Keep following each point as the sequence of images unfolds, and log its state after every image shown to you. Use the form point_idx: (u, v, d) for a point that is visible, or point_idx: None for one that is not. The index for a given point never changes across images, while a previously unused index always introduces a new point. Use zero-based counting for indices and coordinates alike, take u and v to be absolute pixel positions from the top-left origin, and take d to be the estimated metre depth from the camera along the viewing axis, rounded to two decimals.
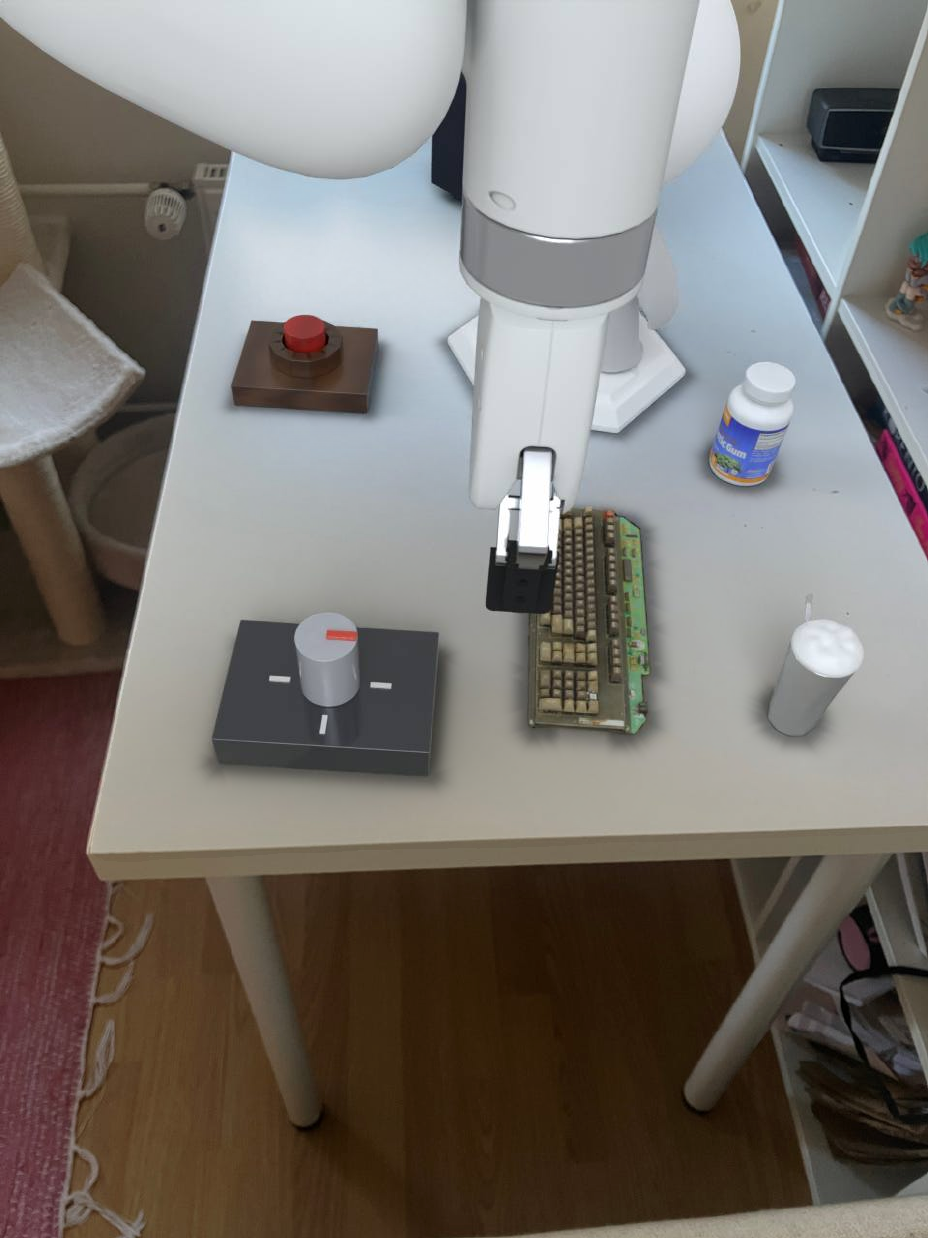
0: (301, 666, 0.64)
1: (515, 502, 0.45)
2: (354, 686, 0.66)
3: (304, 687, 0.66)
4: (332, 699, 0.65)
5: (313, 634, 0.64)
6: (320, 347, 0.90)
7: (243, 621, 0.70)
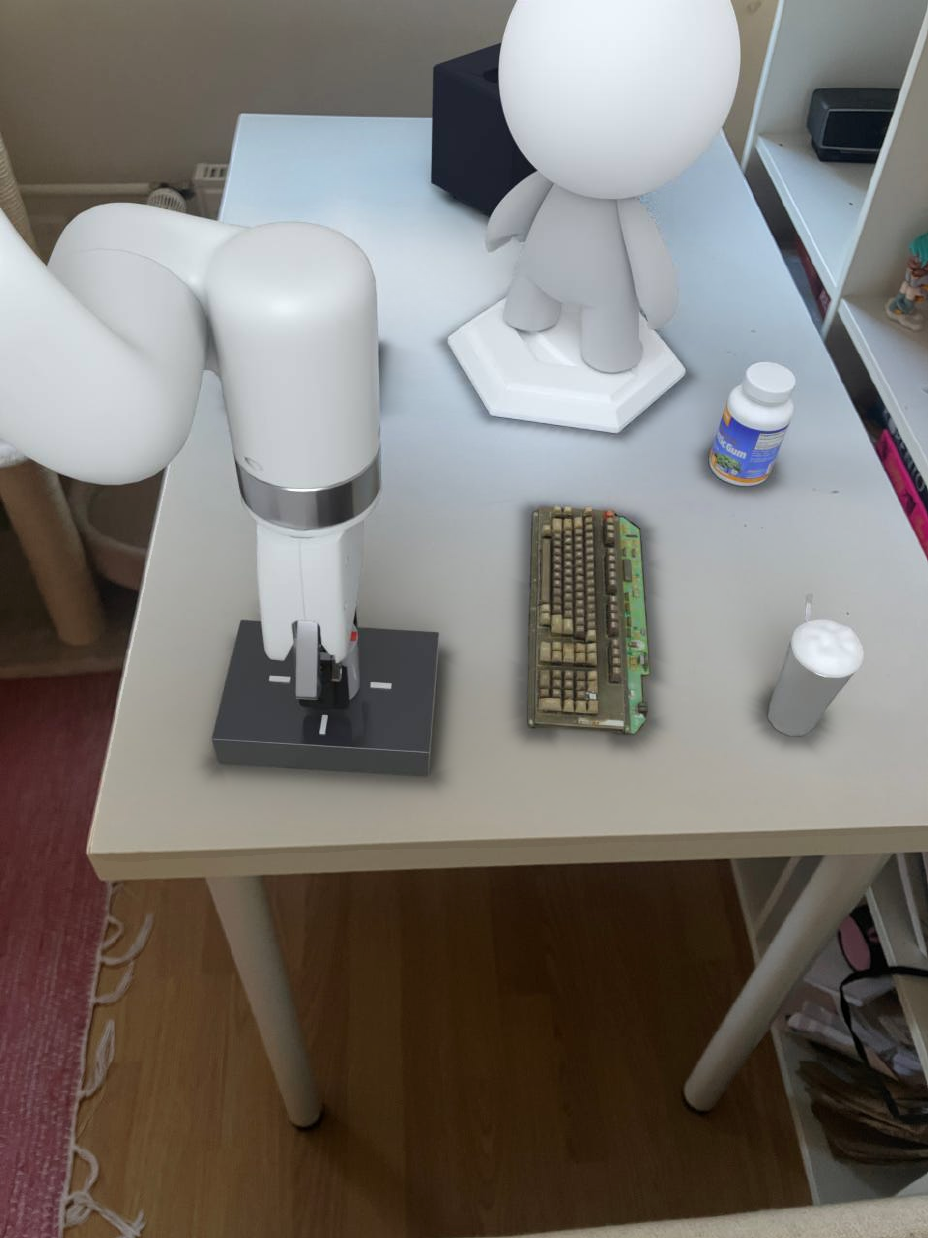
0: None
1: None
2: (354, 686, 0.66)
3: None
4: None
5: None
6: None
7: (243, 621, 0.70)
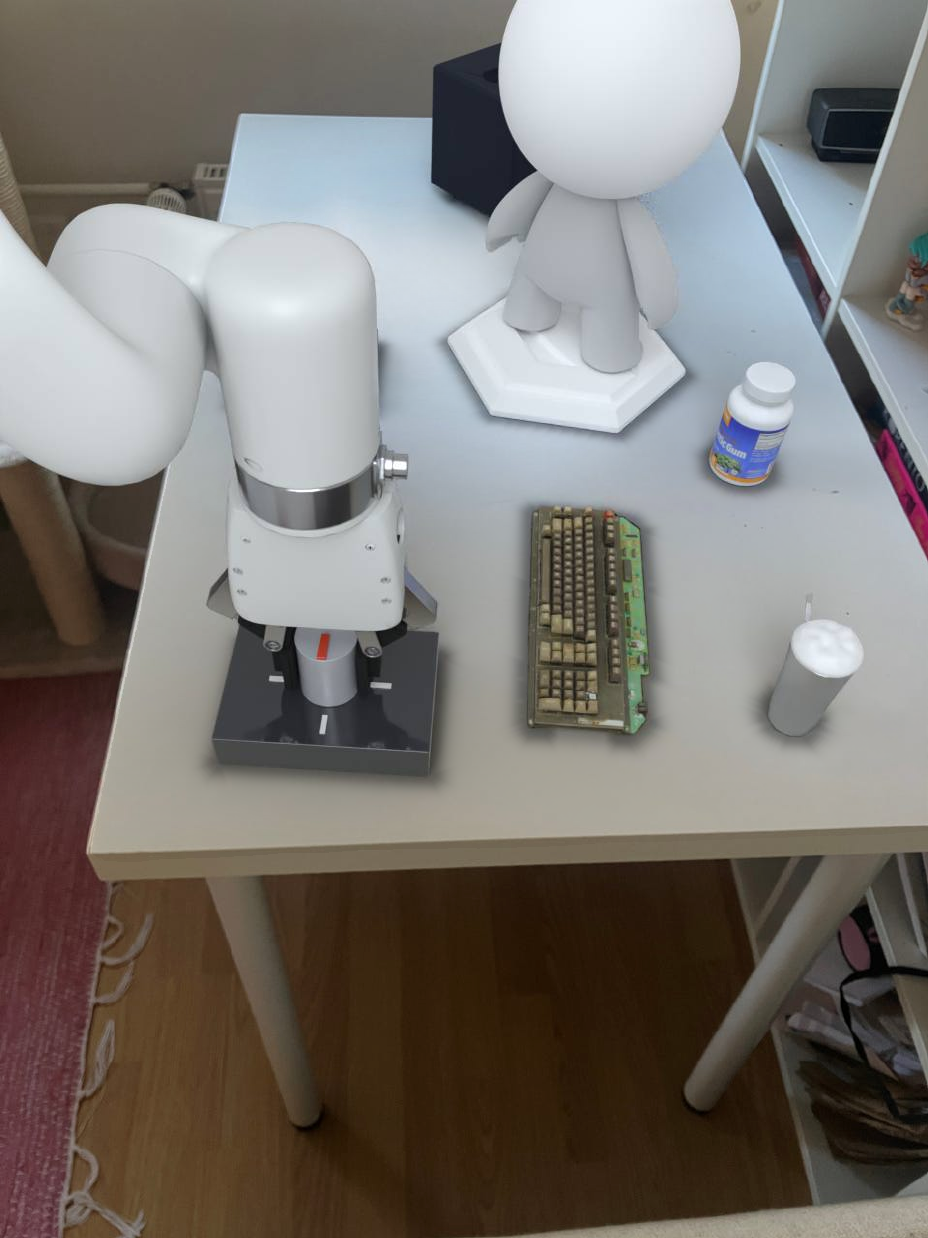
0: None
1: None
2: (311, 693, 0.65)
3: None
4: (299, 678, 0.66)
5: None
6: None
7: None
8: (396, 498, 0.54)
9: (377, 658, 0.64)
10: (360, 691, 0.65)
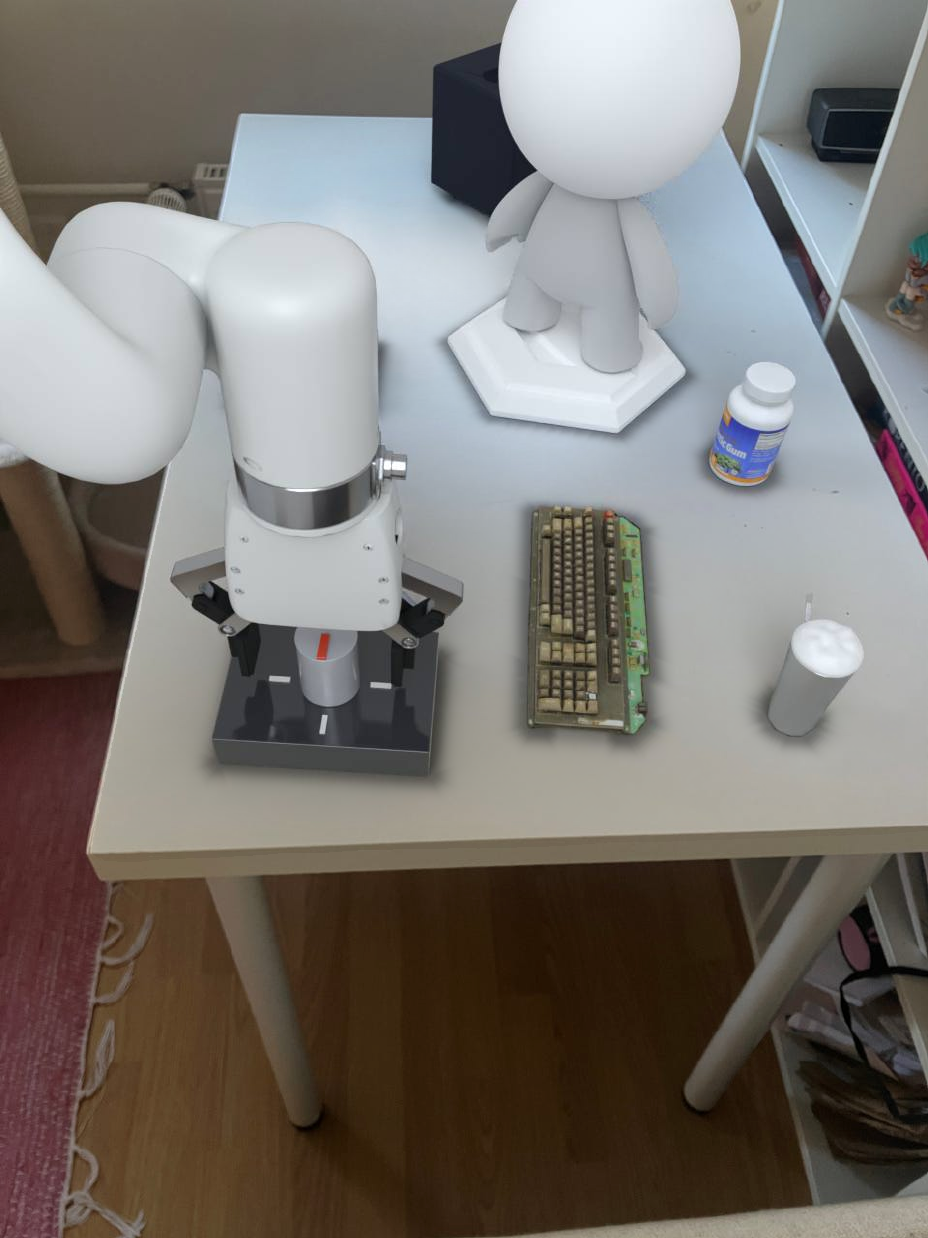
0: None
1: None
2: (311, 693, 0.65)
3: None
4: (299, 678, 0.66)
5: None
6: None
7: None
8: (395, 498, 0.54)
9: (412, 649, 0.63)
10: (394, 683, 0.64)
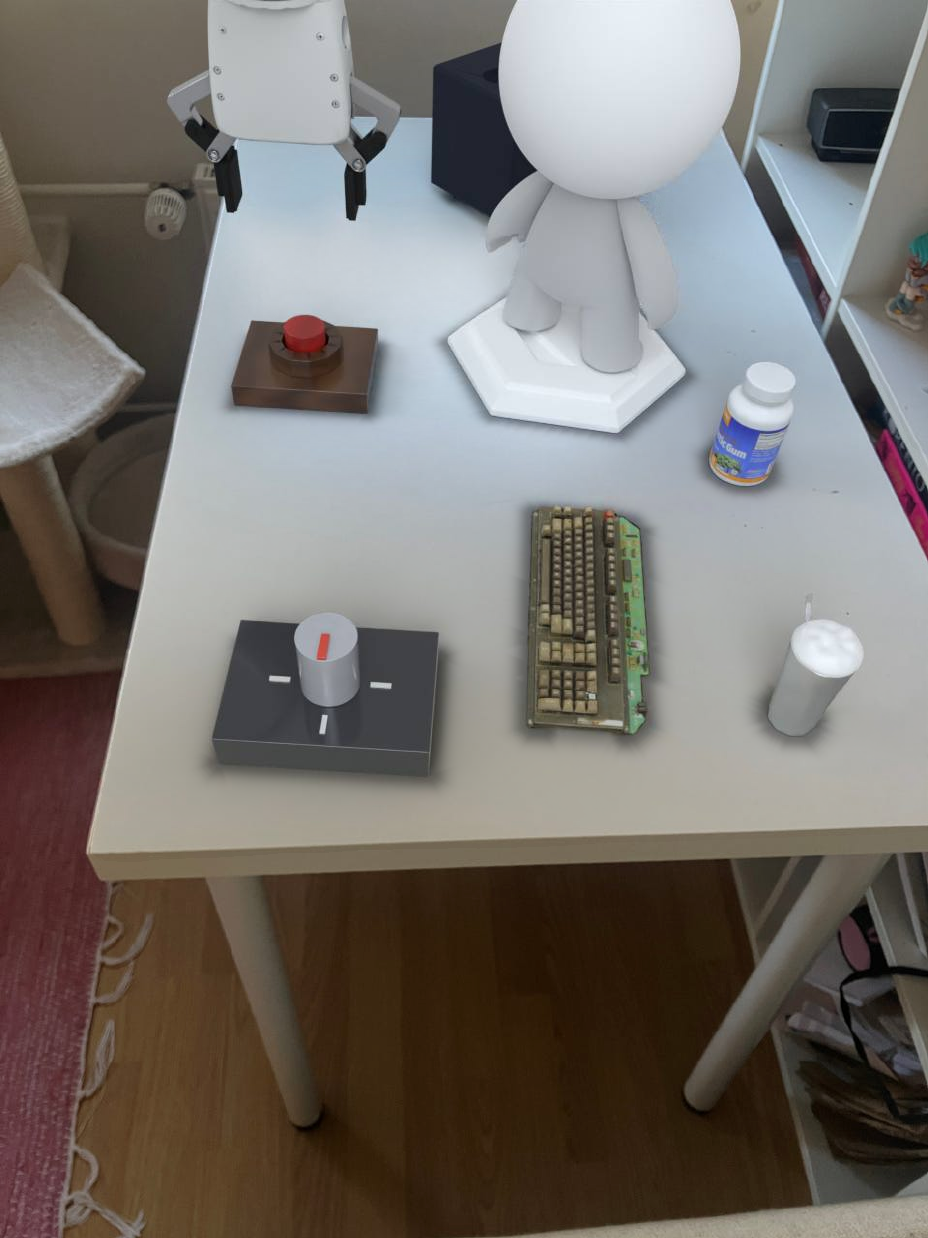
0: None
1: None
2: (311, 693, 0.65)
3: None
4: (299, 678, 0.66)
5: (328, 626, 0.64)
6: (320, 347, 0.90)
7: (243, 621, 0.70)
8: (341, 1, 0.69)
9: (362, 178, 0.78)
10: (348, 215, 0.79)
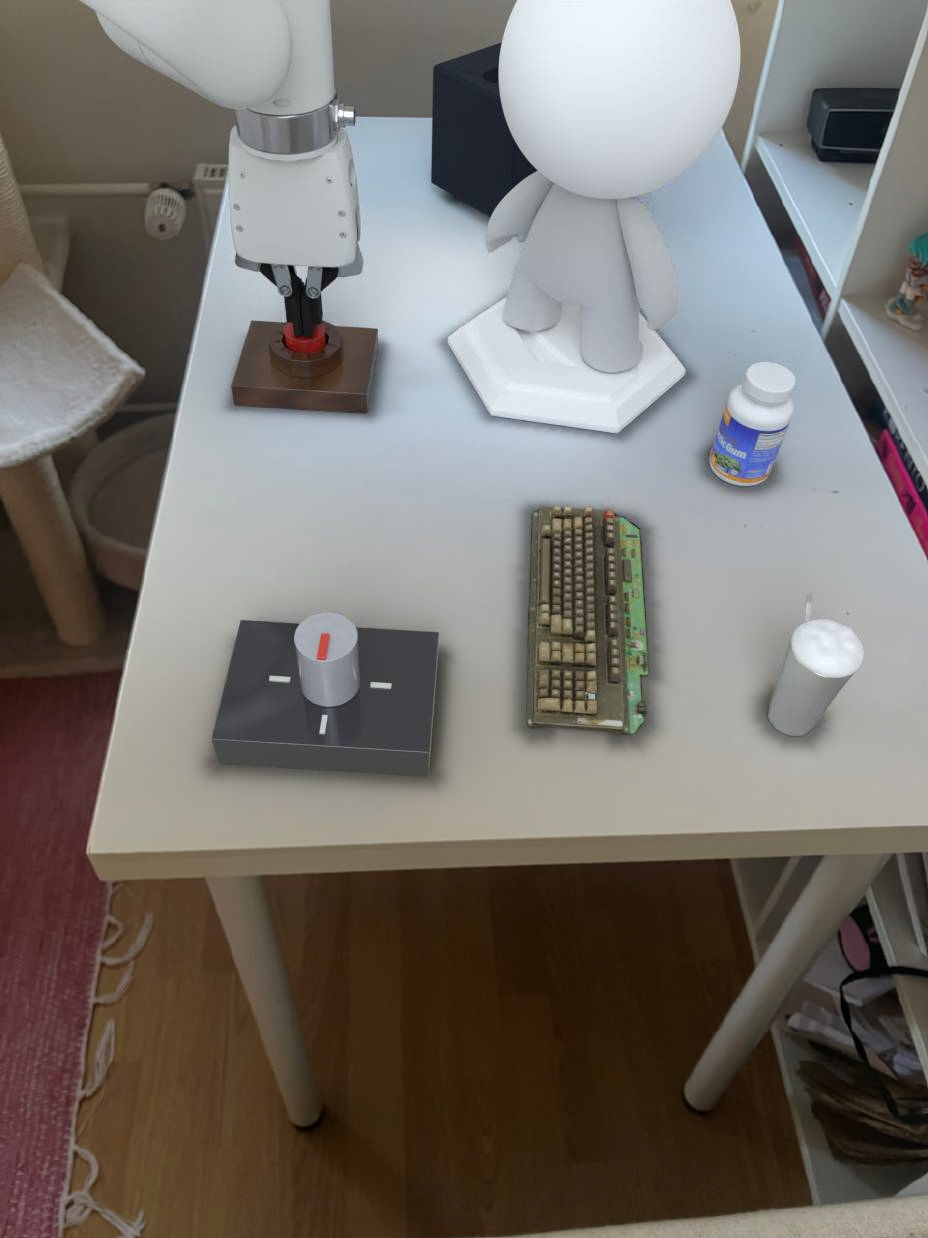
0: None
1: None
2: (311, 693, 0.65)
3: None
4: (299, 678, 0.66)
5: (328, 626, 0.64)
6: None
7: (243, 621, 0.70)
8: (348, 147, 0.77)
9: (317, 302, 0.86)
10: (306, 333, 0.88)
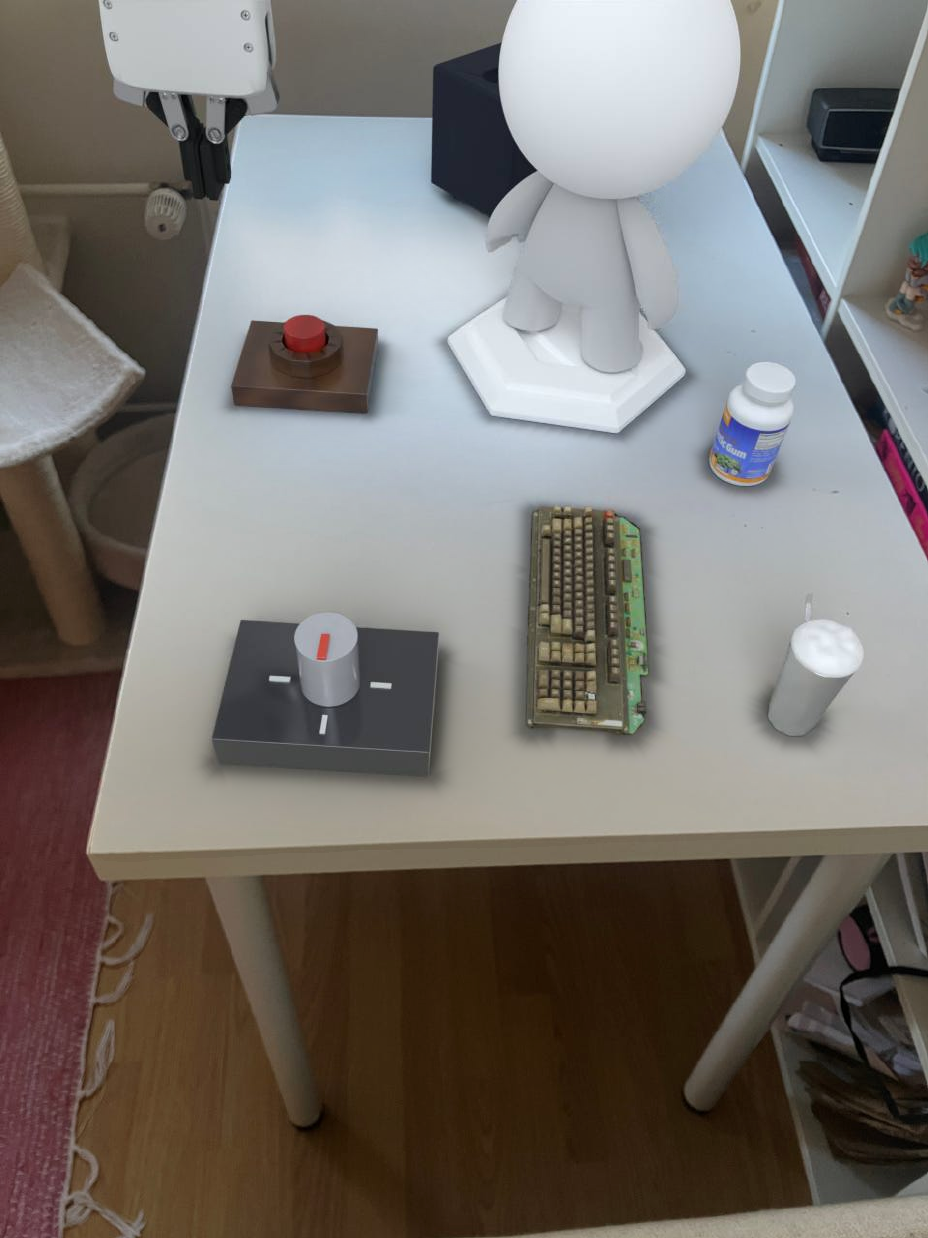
0: None
1: None
2: (311, 693, 0.65)
3: None
4: (299, 678, 0.66)
5: (328, 626, 0.64)
6: (320, 347, 0.90)
7: (243, 621, 0.70)
8: None
9: (222, 151, 0.68)
10: (209, 194, 0.70)
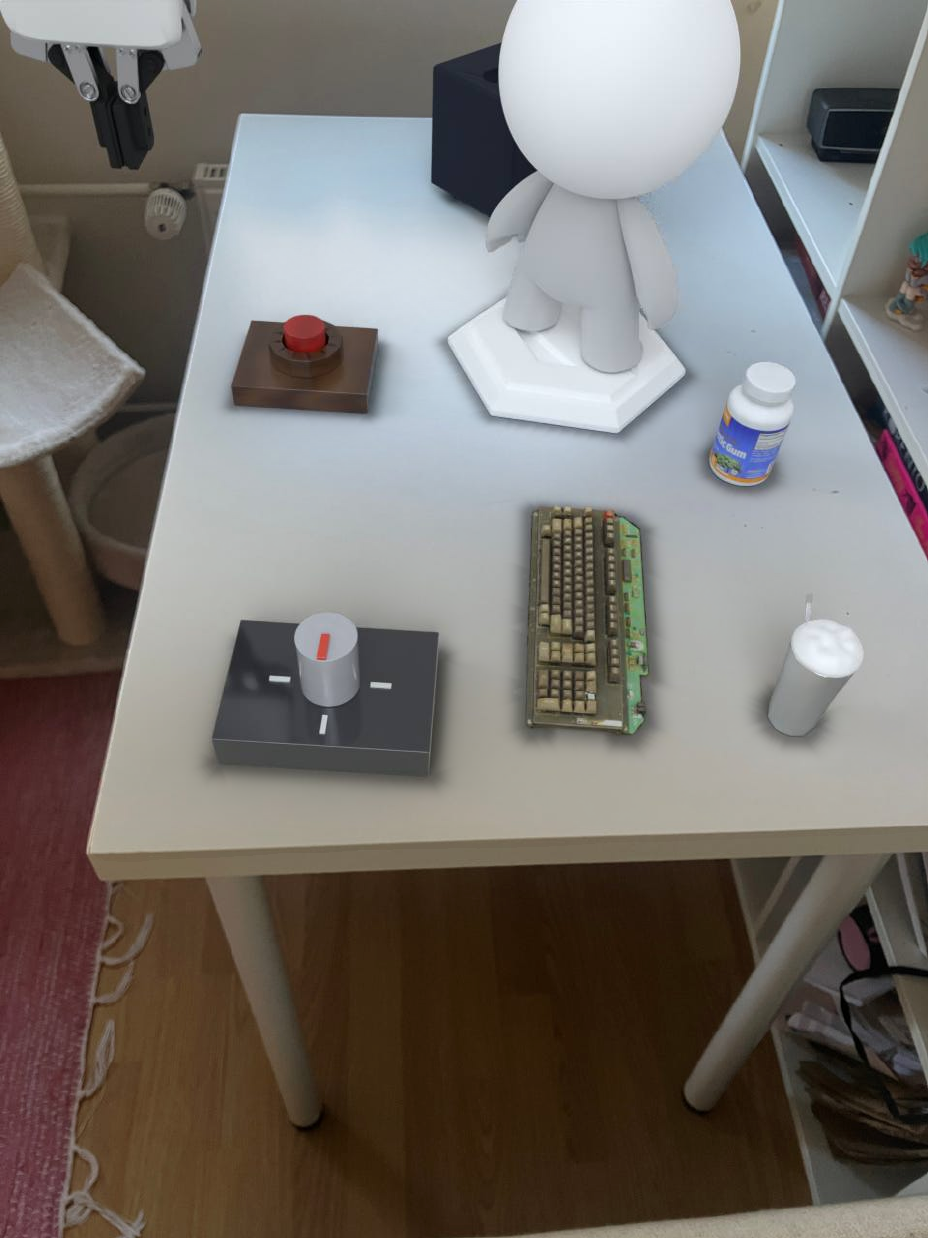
0: None
1: None
2: (311, 693, 0.65)
3: None
4: (299, 678, 0.66)
5: (328, 626, 0.64)
6: (320, 347, 0.90)
7: (243, 621, 0.70)
8: None
9: (139, 113, 0.60)
10: (127, 162, 0.61)
